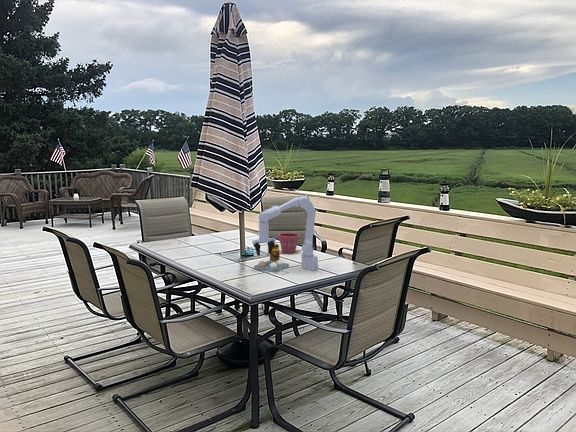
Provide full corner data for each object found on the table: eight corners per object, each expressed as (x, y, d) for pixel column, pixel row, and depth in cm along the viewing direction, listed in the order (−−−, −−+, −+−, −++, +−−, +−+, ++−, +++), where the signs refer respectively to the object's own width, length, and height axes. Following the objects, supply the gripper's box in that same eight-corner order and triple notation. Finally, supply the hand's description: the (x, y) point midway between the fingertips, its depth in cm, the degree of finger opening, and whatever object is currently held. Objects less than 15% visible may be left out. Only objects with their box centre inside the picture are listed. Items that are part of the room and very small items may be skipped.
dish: (289, 273, 272) (289, 272, 272) (283, 276, 267) (283, 274, 267) (280, 272, 275) (280, 270, 275) (274, 274, 270) (274, 273, 270)
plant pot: (303, 252, 325) (303, 234, 323) (287, 255, 316) (287, 237, 315) (290, 249, 336) (290, 231, 334) (274, 252, 328) (274, 234, 326)
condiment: (276, 265, 292) (276, 246, 290) (265, 263, 296) (264, 244, 295) (282, 262, 298) (282, 244, 297) (271, 261, 303) (270, 242, 301)
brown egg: (268, 266, 279) (265, 260, 278) (262, 271, 277) (259, 264, 276) (264, 265, 283) (261, 258, 282) (258, 269, 281) (255, 262, 280)
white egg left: (278, 269, 278) (278, 262, 277) (274, 271, 274) (274, 263, 273) (272, 268, 280) (272, 261, 279) (267, 270, 276) (267, 262, 275)
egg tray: (288, 268, 284) (288, 263, 284) (275, 274, 272) (275, 269, 271) (268, 265, 292) (268, 260, 291) (254, 270, 279) (254, 265, 279)
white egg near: (284, 267, 283) (284, 259, 283) (280, 268, 280) (280, 261, 279) (278, 266, 286) (278, 258, 285) (274, 267, 282) (274, 260, 281)
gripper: (256, 234, 270) (256, 257, 272) (277, 232, 278) (278, 254, 280) (250, 232, 276) (250, 255, 278) (271, 230, 284) (272, 252, 286)
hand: (264, 254), depth 279 cm, fingers open, 7 cm apart
